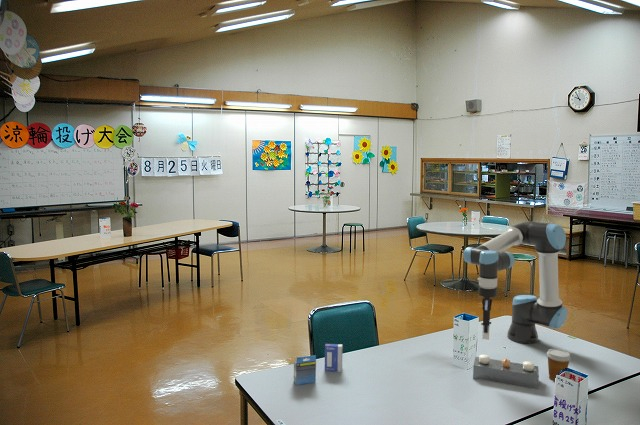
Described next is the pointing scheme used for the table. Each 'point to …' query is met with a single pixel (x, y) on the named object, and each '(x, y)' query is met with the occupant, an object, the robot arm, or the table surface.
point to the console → (506, 373)
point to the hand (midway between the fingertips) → (485, 338)
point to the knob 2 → (528, 366)
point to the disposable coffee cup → (557, 361)
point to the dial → (505, 363)
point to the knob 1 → (484, 359)
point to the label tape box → (305, 370)
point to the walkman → (333, 357)
